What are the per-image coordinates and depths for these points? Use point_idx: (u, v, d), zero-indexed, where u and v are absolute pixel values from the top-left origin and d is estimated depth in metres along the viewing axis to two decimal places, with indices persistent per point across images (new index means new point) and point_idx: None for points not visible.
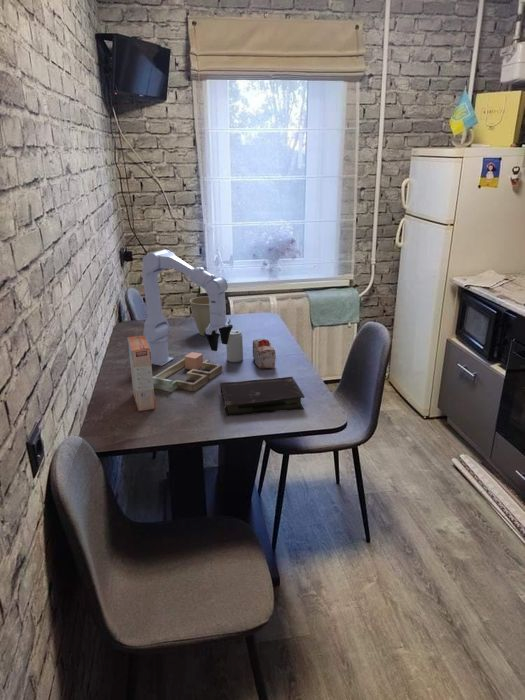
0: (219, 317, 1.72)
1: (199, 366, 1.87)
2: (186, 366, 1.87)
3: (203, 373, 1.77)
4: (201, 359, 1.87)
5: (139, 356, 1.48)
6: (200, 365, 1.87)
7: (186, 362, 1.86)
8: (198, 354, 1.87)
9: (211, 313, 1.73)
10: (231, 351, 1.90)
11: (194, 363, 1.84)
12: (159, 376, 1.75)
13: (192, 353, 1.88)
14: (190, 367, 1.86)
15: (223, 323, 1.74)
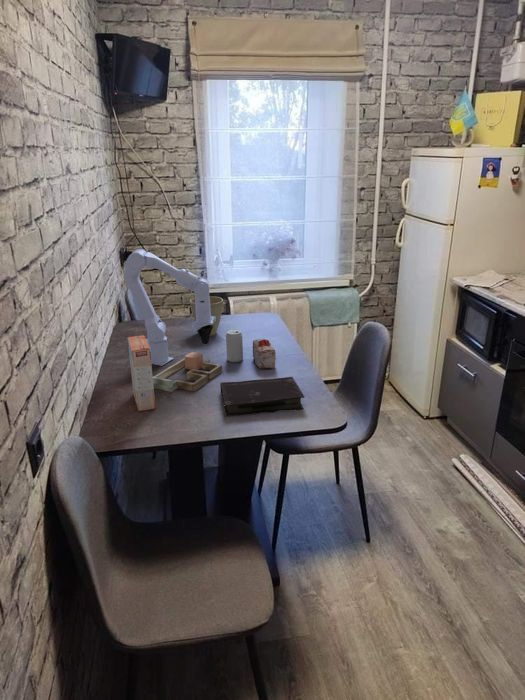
0: (204, 315, 1.86)
1: (199, 366, 1.87)
2: (186, 366, 1.87)
3: (203, 373, 1.77)
4: (201, 359, 1.87)
5: (139, 356, 1.48)
6: (200, 365, 1.87)
7: (186, 362, 1.86)
8: (198, 354, 1.87)
9: (197, 312, 1.86)
10: (231, 351, 1.90)
11: (194, 363, 1.84)
12: (159, 376, 1.75)
13: (192, 353, 1.88)
14: (190, 367, 1.86)
15: (208, 321, 1.88)
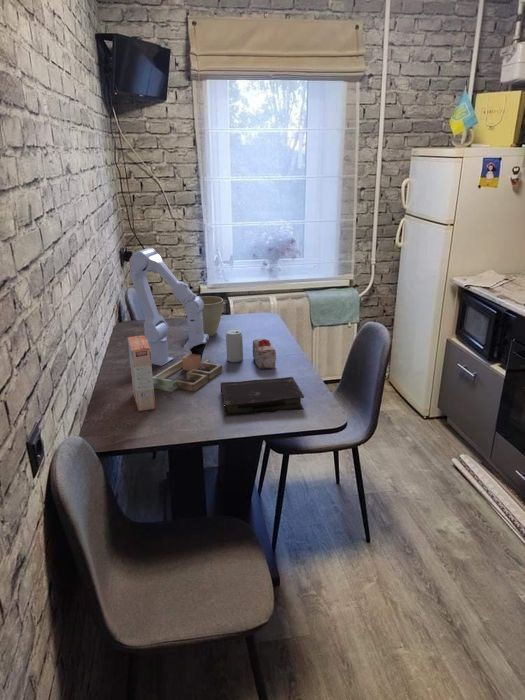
0: (197, 334, 1.83)
1: (197, 367, 1.85)
2: (184, 367, 1.85)
3: (203, 373, 1.77)
4: (199, 360, 1.86)
5: (139, 356, 1.48)
6: (198, 366, 1.86)
7: (183, 363, 1.85)
8: (196, 355, 1.86)
9: (189, 331, 1.83)
10: (231, 351, 1.90)
11: (191, 364, 1.83)
12: (159, 376, 1.75)
13: (190, 354, 1.87)
14: (188, 368, 1.84)
15: (201, 340, 1.85)
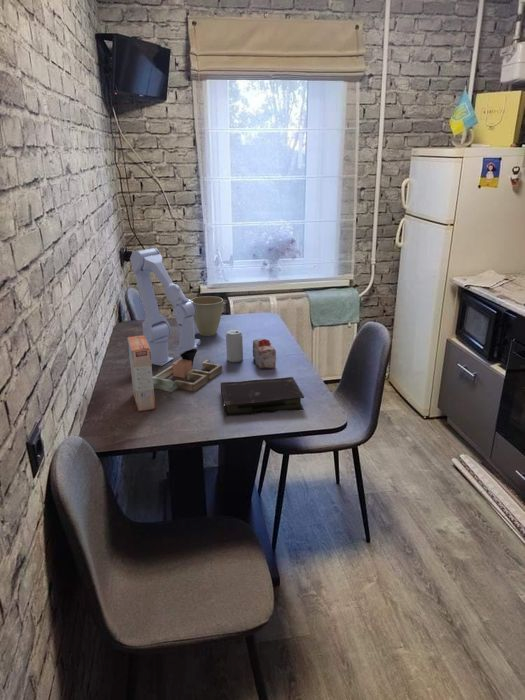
0: (187, 339, 1.78)
1: None
2: (174, 373, 1.80)
3: (203, 373, 1.77)
4: (190, 366, 1.81)
5: (139, 356, 1.48)
6: None
7: (174, 369, 1.79)
8: (187, 361, 1.80)
9: (180, 336, 1.78)
10: (231, 351, 1.90)
11: (182, 370, 1.78)
12: (159, 376, 1.75)
13: (181, 360, 1.81)
14: (178, 374, 1.79)
15: (192, 345, 1.79)
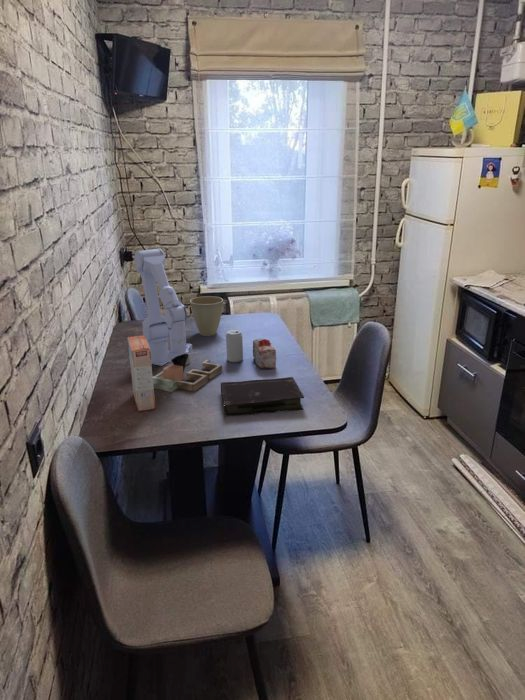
0: (179, 344, 1.73)
1: (179, 379, 1.75)
2: None
3: (203, 373, 1.77)
4: (181, 372, 1.76)
5: (139, 356, 1.48)
6: (180, 378, 1.76)
7: (164, 375, 1.75)
8: (178, 366, 1.76)
9: (170, 340, 1.73)
10: (231, 351, 1.90)
11: (173, 376, 1.73)
12: (159, 376, 1.75)
13: (172, 365, 1.77)
14: None
15: (183, 350, 1.75)
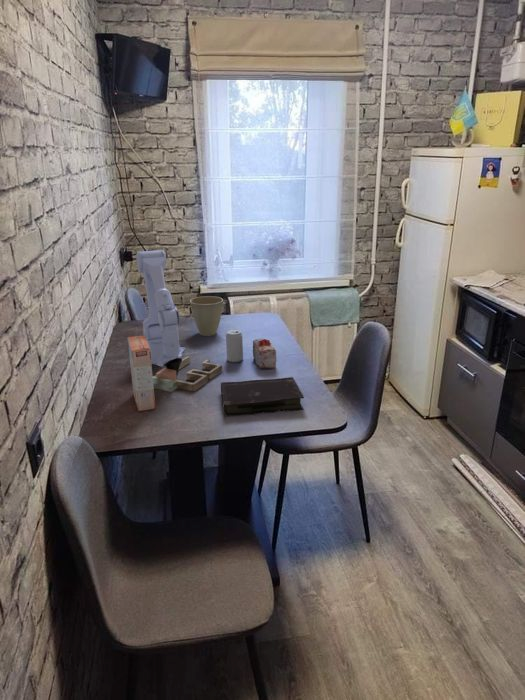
0: (171, 348, 1.70)
1: None
2: None
3: (203, 373, 1.77)
4: (174, 376, 1.72)
5: (139, 356, 1.48)
6: None
7: None
8: (171, 370, 1.72)
9: (163, 344, 1.70)
10: (231, 351, 1.90)
11: None
12: None
13: (165, 369, 1.73)
14: None
15: (176, 354, 1.71)
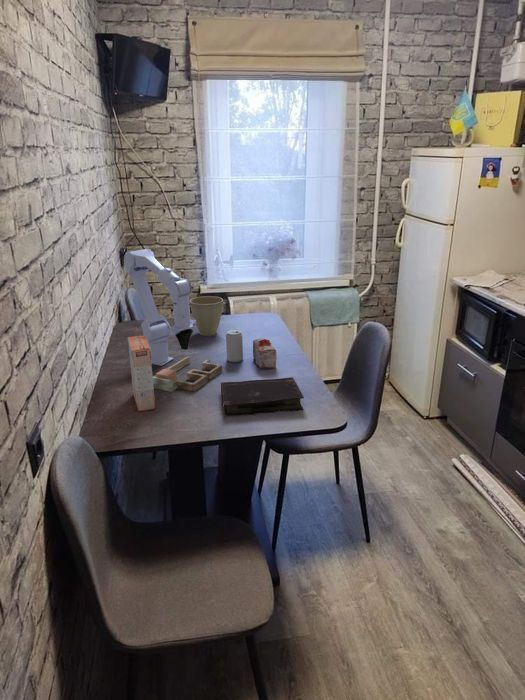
0: (183, 319, 1.73)
1: None
2: None
3: (203, 373, 1.77)
4: (174, 376, 1.72)
5: (139, 356, 1.48)
6: None
7: None
8: (171, 371, 1.72)
9: (175, 315, 1.74)
10: (231, 351, 1.90)
11: None
12: None
13: (165, 370, 1.73)
14: None
15: (187, 325, 1.75)
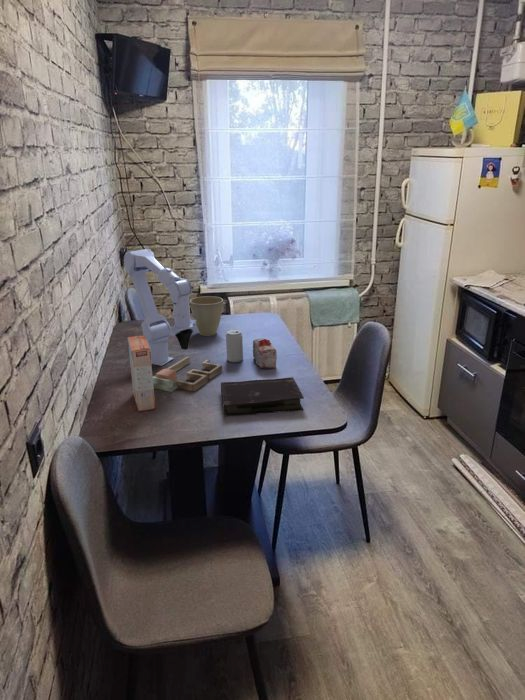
0: (183, 319, 1.73)
1: None
2: None
3: (203, 373, 1.77)
4: (174, 376, 1.72)
5: (139, 356, 1.48)
6: None
7: None
8: (171, 371, 1.72)
9: (175, 315, 1.74)
10: (231, 351, 1.90)
11: None
12: None
13: (165, 370, 1.73)
14: None
15: (187, 325, 1.75)
